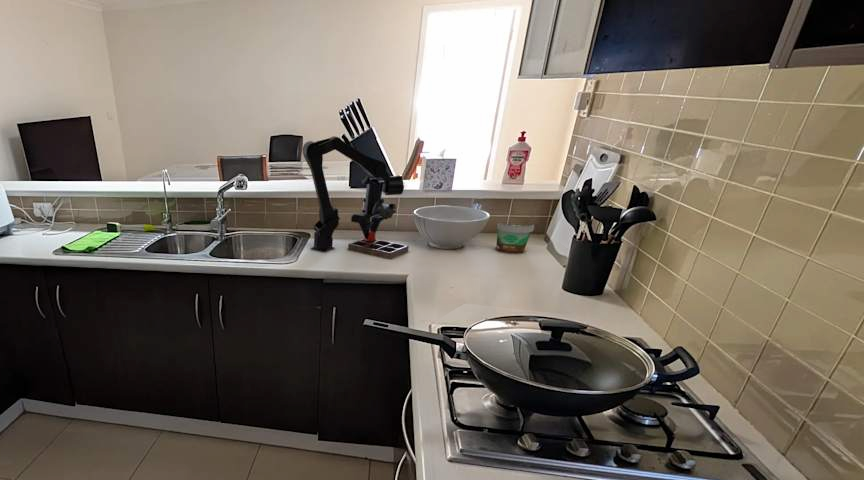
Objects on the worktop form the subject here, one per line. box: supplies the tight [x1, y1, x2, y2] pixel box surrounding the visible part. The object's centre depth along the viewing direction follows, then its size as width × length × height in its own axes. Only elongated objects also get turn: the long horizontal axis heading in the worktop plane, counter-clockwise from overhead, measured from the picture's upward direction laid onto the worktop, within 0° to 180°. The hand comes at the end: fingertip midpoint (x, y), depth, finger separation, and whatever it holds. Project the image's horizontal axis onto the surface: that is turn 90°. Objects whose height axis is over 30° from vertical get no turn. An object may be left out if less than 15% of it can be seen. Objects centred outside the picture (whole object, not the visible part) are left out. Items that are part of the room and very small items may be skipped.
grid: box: [347, 238, 410, 260], centre depth 190 cm, size 18×12×2 cm
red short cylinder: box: [363, 230, 377, 241], centre depth 194 cm, size 4×4×3 cm
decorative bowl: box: [413, 205, 490, 250], centre depth 192 cm, size 27×27×12 cm
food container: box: [495, 221, 535, 255], centre depth 181 cm, size 12×6×10 cm, turn 68°
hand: (369, 237), depth 194 cm, fingers closed on red short cylinder, 4 cm apart
